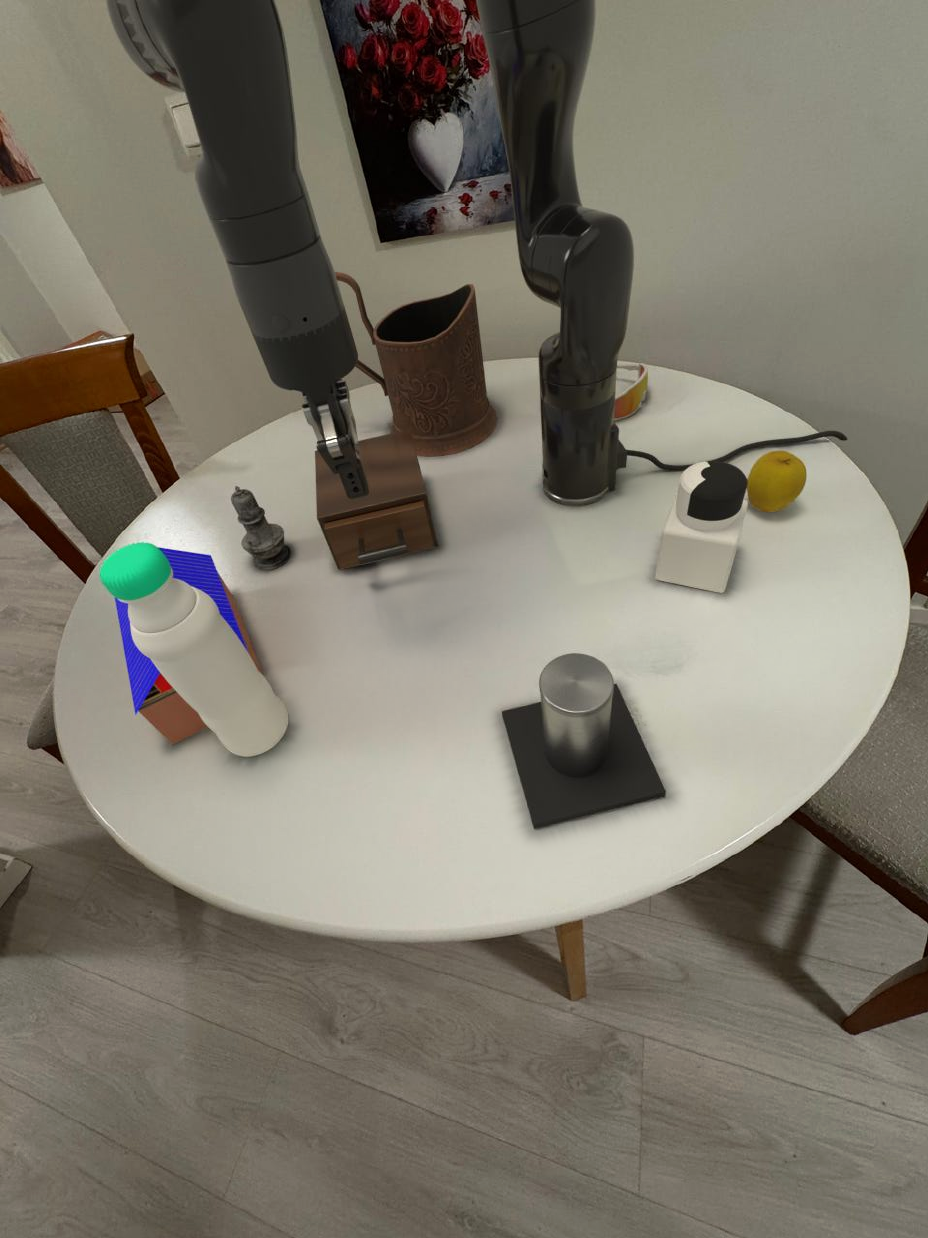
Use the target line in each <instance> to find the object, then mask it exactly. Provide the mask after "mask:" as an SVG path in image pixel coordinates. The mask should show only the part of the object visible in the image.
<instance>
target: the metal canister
mask: <svg viewBox="0 0 928 1238" xmlns="http://www.w3.org/2000/svg"><path fill="white" fill-rule="evenodd" d="M613 676H614V675H613V674H612V672H611V670H610V669H609V667H608V666H607V665H606V664H605V663H604V662H602V661H601V660H600V659H598V658H596V657H594V656H592V655H589V654H585V653H580V652H579V653H578V652H577V653H575V652H573V653H565V654H562V655H560V656H557V657H555V658H553V659H552V660H550V661H549V662H548V663H547V664H546V665H545V666H544V667H543V669H542V671H541V673H540V675H539V681H538V685H539V686H538V687H539V694H540V702H541V708H542V722H543V736H544V750H545V755H546V758H547V760H548V762H549V763H550V765H551V766H552V767H553V768H554V769H555V770H557V771H558V772H560V773H562V774H564V775H567V776H571V777H584V776H588V775H590V774H593V773H594V772H596V771H597V770H598V769H600V768H601V766H602V765H603V764H604V762H605V760H606V756H607V749H608V738H609V727H610V717H611V706H612V696H613V691H614V684H615V681H614V677H613Z"/></svg>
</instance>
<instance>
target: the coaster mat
mask: <svg viewBox="0 0 928 1238" xmlns="http://www.w3.org/2000/svg"><path fill="white" fill-rule="evenodd" d="M501 716H502V720H503V723H504V727H505V731H506V735H507V737H508V741H509V745H510V748H511V752H512V756H513V760H514V763H515V766H516V770H517V774H518V778H519V781H520V784H521V788H522V792H523V795H524V798H525V802H526V806H527V810H528V813H529V818H530V821H531V824H532V827H533V829H534V830H537V829H539V828H544V827H548V826H551V825H557V824H560V823H565V822H568V821H572V820H576V819H580V818H583V817H588V816H593V815H597V814H600V813H605V812H608V811H612V810H617V809H620V808H624V807H629V806H632V805H636V804H640V803H641V804H642V803H645V802H648V801H653V800H657V799H661V798H665V797H666V793H667V790H666V788H665V785H664V783H663V781H662V780H661V778H660V775H659V773H658V770H657V769H656V766H655V764H654V762H653V760H652V758H651V755H650V753H649V751H648V748H647V747H646V745H645V742H644V739H643V738H642V736H641V733H640V731H639V729H638V727H637V725H636V723H635V721H634V718H633V716H632V714H631V712H630V710H629V708H628V705H627V704H626V701H625V699H624V696H623V694H622V692H621V690H620V688H619V686H618V684H617V683H614V691H613V696H612V706H611V717H610V727H609V738H608V749H607V756H606V760H605V762H604V764H603V765H602V766H601V768H600V769H598V770H597V771H596V772H594V773H593V774H590V775H588V776H584V777H571V776H567V775H564V774H562V773H560V772H558V771H557V770H555V769H554V768H553V767H552V766H551V765H550V763H549V762H548V760H547V758H546V755H545V750H544V736H543V722H542V708H541V701H539V702H534V703H530V704H526V705H522V706H517V707H513V708H510V709H506V710H505V709H504V710H502V711H501Z"/></svg>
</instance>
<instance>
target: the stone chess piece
mask: <svg viewBox="0 0 928 1238" xmlns="http://www.w3.org/2000/svg"><path fill="white" fill-rule="evenodd" d="M230 502H231V504H232V506H233V508H234V510H235V512H236V513H237V515H238V516H237V522H238V523H239V524H241V525H242V526H243V528H244V530H245V532H246V533H245V535H244V536H243V537H242V540H241V547H242V549H243V550H244V551H245V552H247V553H248V554H249V555H251V556H252V557H253V564H254V566H255V567H256V568H257V569H259V570H262V571H270V570H274V569H278V568H279V567H281V566H283V565H285V564H286V563H287V562H288V561H289V560H290V558H291V556H292V550H291V547H290V546H289V545H287V544H285V530H284V528H283V527H282V526H281V525H279V524H277V523H269V522H268V519H267V518H266V516H265V515H266V510H265V509H264V508H263V507H261V506H260V505H259V504H258V501H257V499H256V497H255V495H254V493H253V491H251V490H249V489H247V488H241V487H240V486H238V485H235V487H234V492H233V493H232V494H231V496H230Z"/></svg>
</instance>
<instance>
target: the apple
mask: <svg viewBox="0 0 928 1238" xmlns="http://www.w3.org/2000/svg"><path fill="white" fill-rule="evenodd" d="M807 475H808V474H807V468H806V465H805V463H804V462H803V461H802V460H801V459H800V458H799V457H798V456H796V455H795V454H793V453H791V452H789V451H786V450H772V451H769V452H767V453H764V454H763V455H761V456H760V457H759V458H758V459H757V460H756V461H755V462H754V464H753V465H752V467H751V469H750V471H749V474H748V476H747V481H748V484H747V488H746V493H747V498H748V500H749V502H750V504H751V506H752V507H754V509H756V510H759V511H761V512H762V513H774V512H778V511H781V510H784V509H786V508H787V507H788V506H789V505H790V504H792V503H793V502H794V501H795V500H796V499H797V498H799V496H800V495H801V494H802V492H803V490H804V488H805V486H806V482H807Z"/></svg>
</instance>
